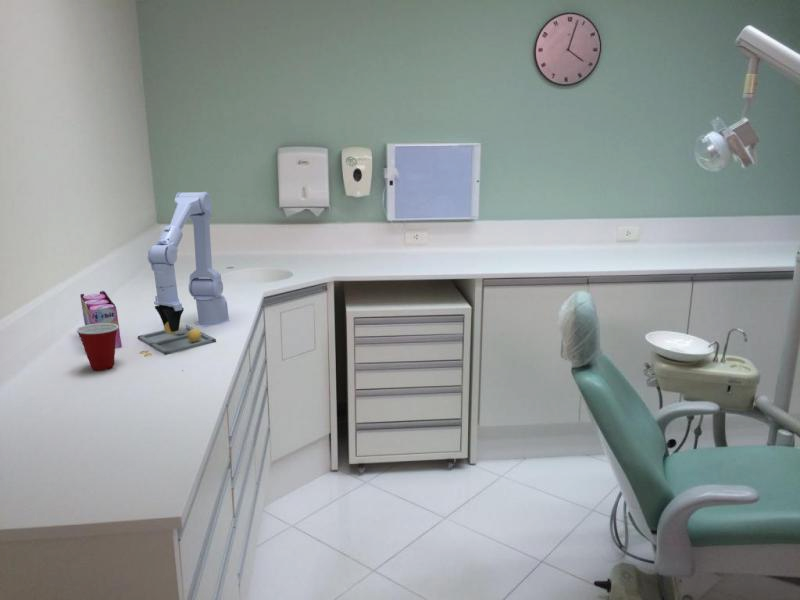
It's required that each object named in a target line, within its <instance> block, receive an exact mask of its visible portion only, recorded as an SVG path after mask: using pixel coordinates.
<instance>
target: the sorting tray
mask: <svg viewBox="0 0 800 600" xmlns="http://www.w3.org/2000/svg"><path fill="white" fill-rule="evenodd" d="M185 325H186V331H185V333H183V334H180V335H179V334H176V333H174V334H168V333H166V331H165V330H164V329H162V330H157V331H154V332H149V333H146V334H145V333H144V334H142V335H137V339H138V340H139V341H141V342H143V343H144V344H146V345H148V346H149V347H151V348H152V349H154V350H156V351H157V352H159V353H160V354H162V355H165V356H167V355H171V354H176V353H179V352H183V351H187V350H191V349H195V348H198V347H202V346H206V345H210V344H214V343H217V338H214V337H212V336H210V335H209V334H207V333H204V332H202V331H200V333H201V338H200V340H199V341H197V342H192V341H190V340H189V339H188V336H187V335H188V332H189V331H190V330H192V329H195V328H194V327H192V326H190V325H188V324H185Z"/></svg>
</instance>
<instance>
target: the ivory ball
mask: <svg viewBox="0 0 800 600" xmlns="http://www.w3.org/2000/svg"><path fill="white" fill-rule="evenodd" d="M186 325H187V324H186V323H185V322H182V321H180V324H179V330H178V331H177V332H176V334H179V335H180V334H183V333H185V331H186Z"/></svg>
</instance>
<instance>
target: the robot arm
mask: <svg viewBox="0 0 800 600" xmlns="http://www.w3.org/2000/svg"><path fill="white" fill-rule="evenodd" d="M174 197H175V198H174V208H175V209H174V212H173V215H172V218H171V221H170V224H169V225H166V226H164V228H163V230H162V231H161V233H160V235H159V238H158V240H157V241H156V243H155V244H153V245H152V246H150V247H149V249H148V252H147V259H148V260H147V261H148V263H149V264H150V268H151V270H152V271H153V272H154V273H153V274H154V275H153V276H154V280H155V281H154V282H155V289H156V295H155V296H154V297H155V301H154V302H153V304H154V305H155V306H154V309H155V311H156V312H157V313H158V315H159V317H160V319H161V322H162V324H163V327H164V326H165V324H166V323H167V322H168V323H169V327H170V330H171V332H175V331H178V330H179V324H180V322H181V318H182V315H183V313H184V307H183V305H182V303H181V301H180V298H179V296H178V295H179V294H178V286H177V278H176V271H175V263H176V261H177V258H178V247H179V244H180V243H181V241H182V238H183V231H182V229H183V228H184V226H185V224H186V223H187V221H188V219H190V220H191V221H192V223H193V225H192V227H193V238H194V239H193V240H194V256H195V270H194V271H193V272H192V273H191V274H190V275H189V281H188V282H189V284H188V292H189V294H190V296H191V297H192V298H193V300H195V304H196V311H197V313H196V314H197V321H194V322H193V323H194V324H196V325H197V326H199V327H201V328H208V327H212V326H216V325H221V324H224V323H225V324H226V323H229V322H230V321H231V320H230V319H229V318H230V317H229V309H228V303H227V302H228V301H227V298H225V296H224V295H223V291H224V284H223V280H222V276H221V273H220V272H218V271H217V270H216V269H214V268H213V262H212V260H213V259H212V247H211V246H212V243H211V228H210V218H211V217H213V200H212V198H211V196H210V194H209V193H208V192H207V191H202V192H201V191H199V192H197V191H196V192H193V191H191V192H190V191H189V192H182V191H178V192H177V193H176V195H175V196H174Z"/></svg>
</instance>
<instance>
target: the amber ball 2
mask: <svg viewBox="0 0 800 600" xmlns="http://www.w3.org/2000/svg"><path fill="white" fill-rule="evenodd" d="M200 332H201V331H200V330H198V329H197V328H194V329H192V330H190V331H189V332H188V335H187V336H188V339H189V340H190V341H192V342H197V341H199V340H200V338H201V333H200Z"/></svg>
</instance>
